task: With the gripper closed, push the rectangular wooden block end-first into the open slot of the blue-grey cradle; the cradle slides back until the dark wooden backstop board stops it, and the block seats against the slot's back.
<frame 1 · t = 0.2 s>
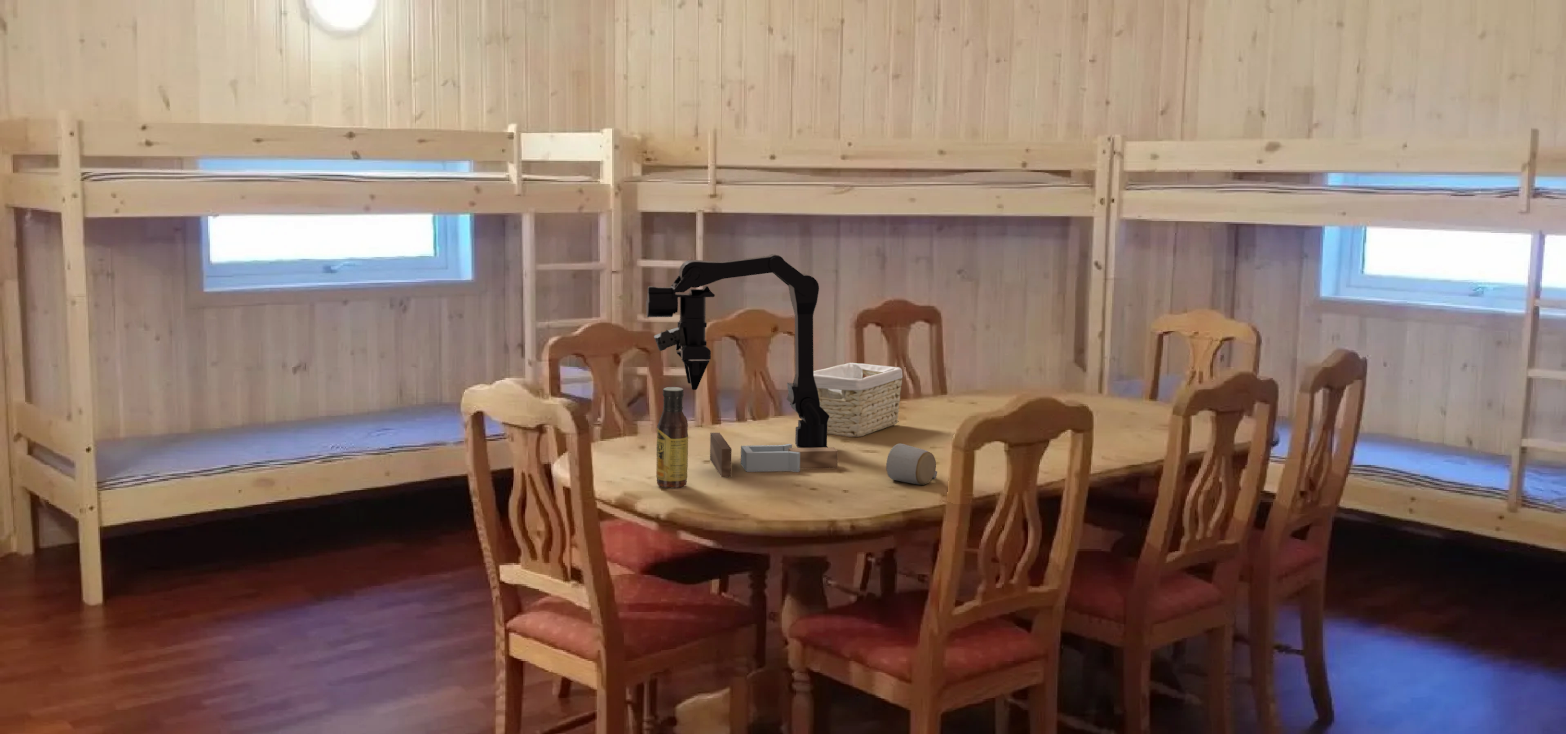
hand: (692, 386, 323), 15 cm above the table, fingers open, 9 cm apart
sauce bottle: (671, 487, 289), on the table
ceramic mug: (913, 482, 298), on the table
rectangular wooden block: (812, 467, 310), on the table
backstop: (720, 468, 307), on the table
cradle: (769, 458, 308), point 2 cm above the table, slide at 0.0 cm
storage basket: (852, 429, 357), on the table
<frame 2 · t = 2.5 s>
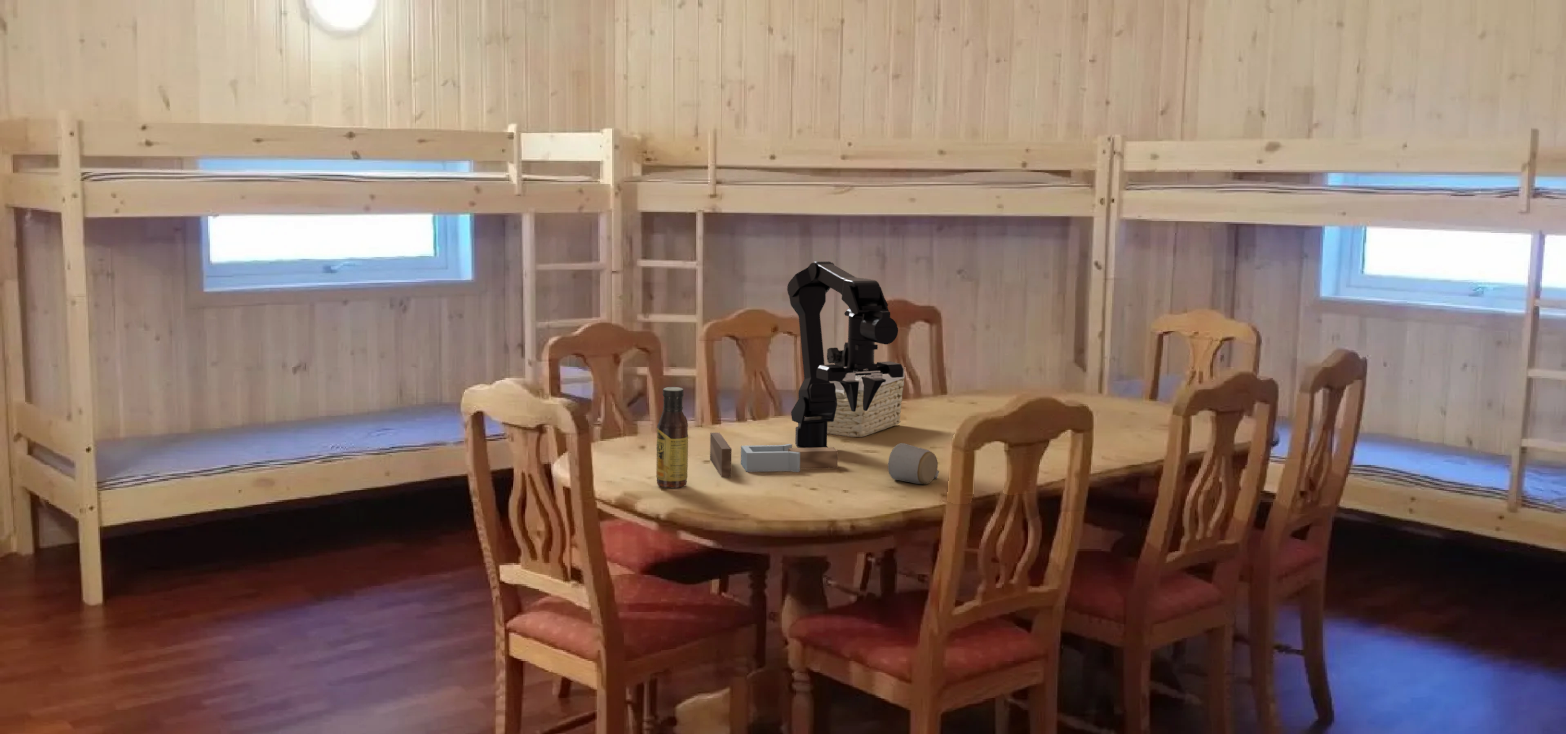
hand: (859, 410, 311), 12 cm above the table, fingers open, 3 cm apart
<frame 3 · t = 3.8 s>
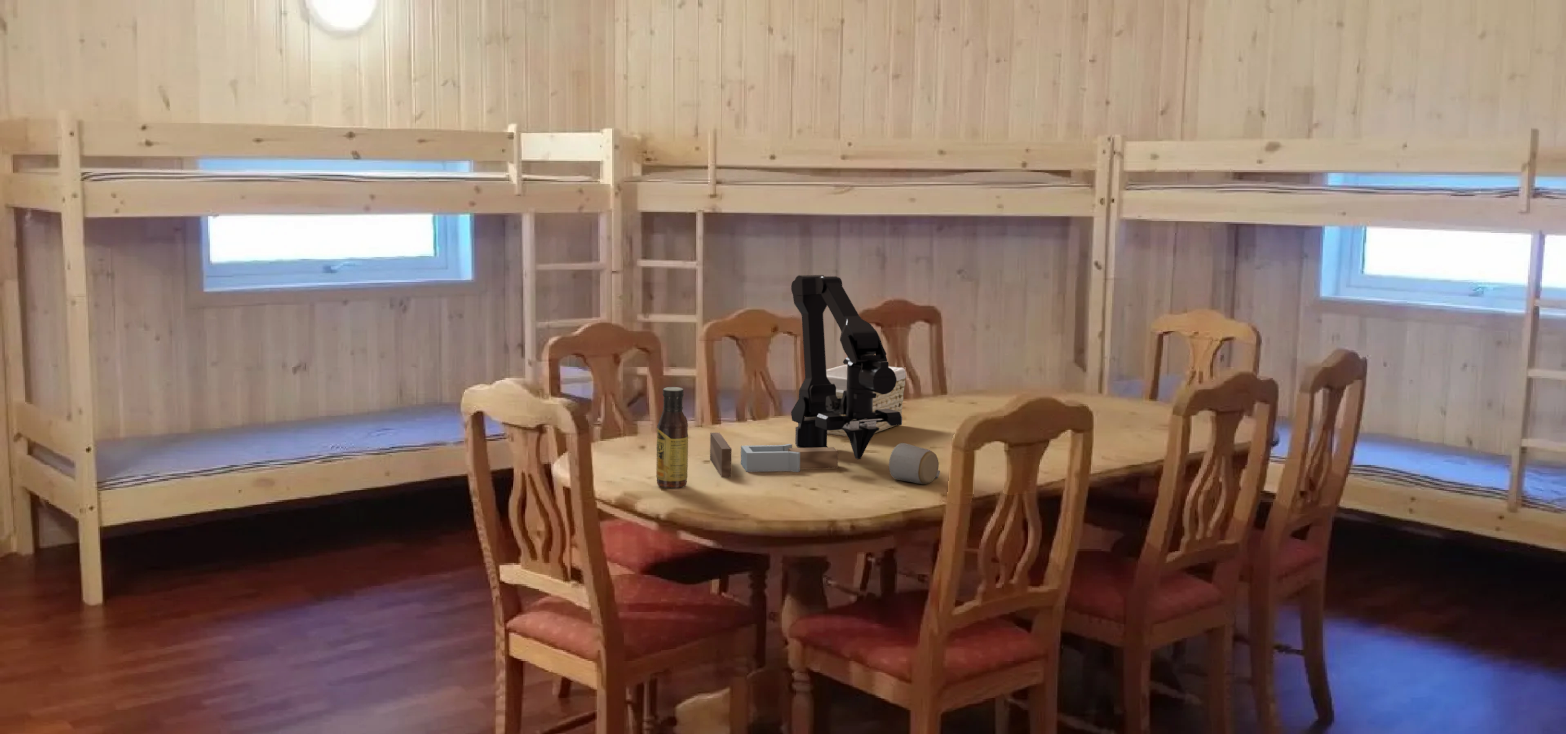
hand: (857, 458, 312), 2 cm above the table, fingers closed
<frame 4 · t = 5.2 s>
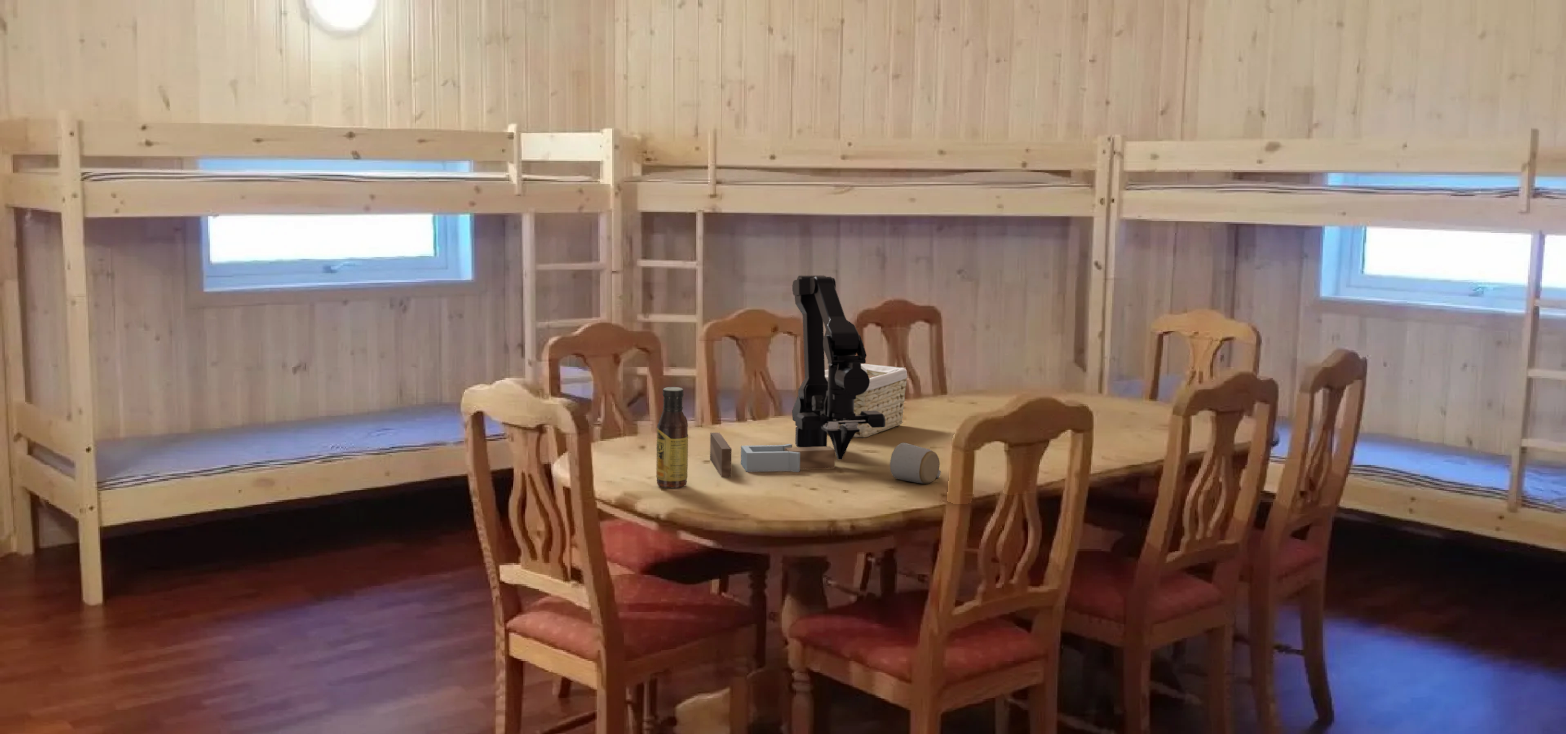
hand: (839, 459, 311), 1 cm above the table, fingers closed
rectangular wooden block: (809, 467, 310), on the table, touching gripper
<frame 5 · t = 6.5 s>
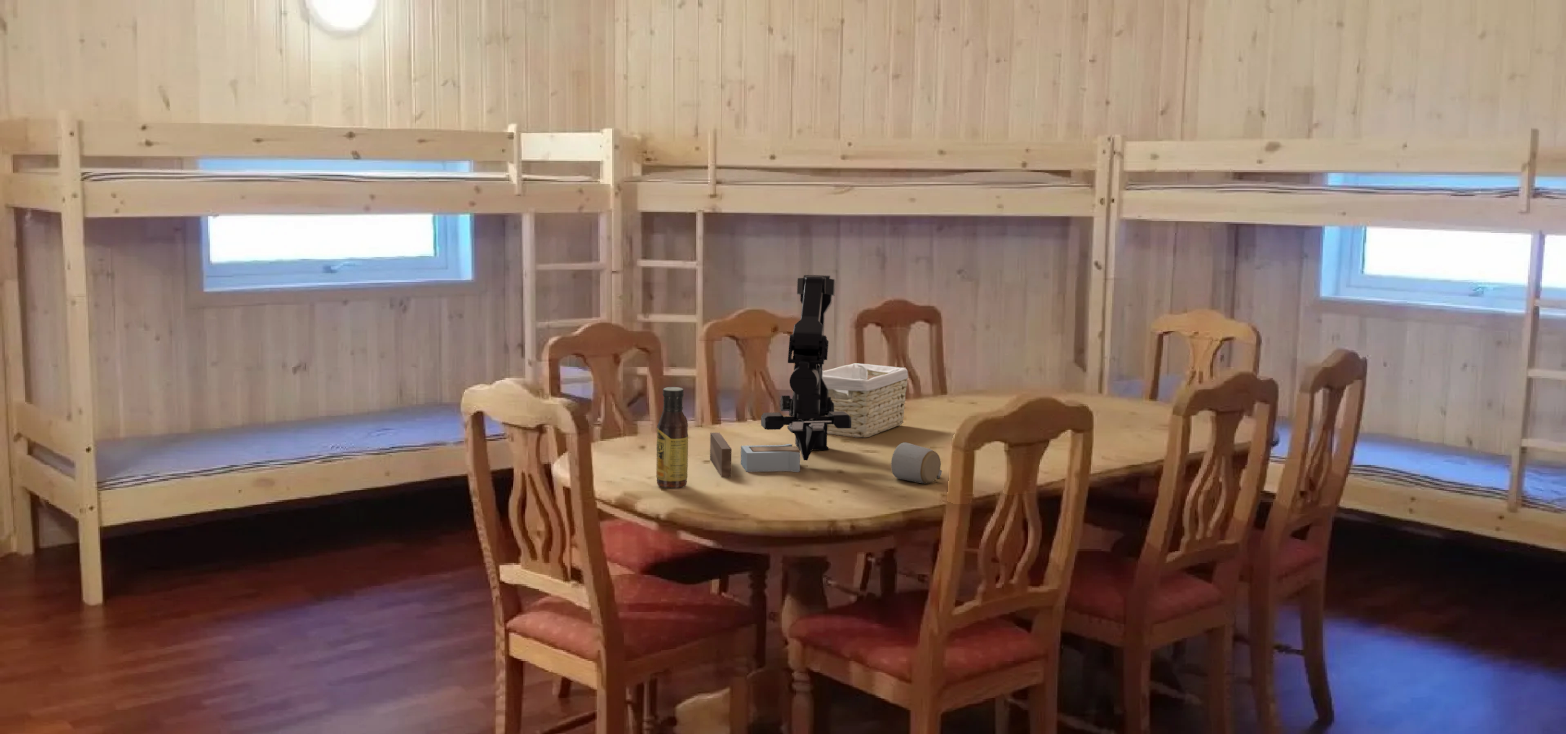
hand: (805, 460, 310), 1 cm above the table, fingers closed
rectangular wooden block: (774, 467, 309), on the table, touching gripper
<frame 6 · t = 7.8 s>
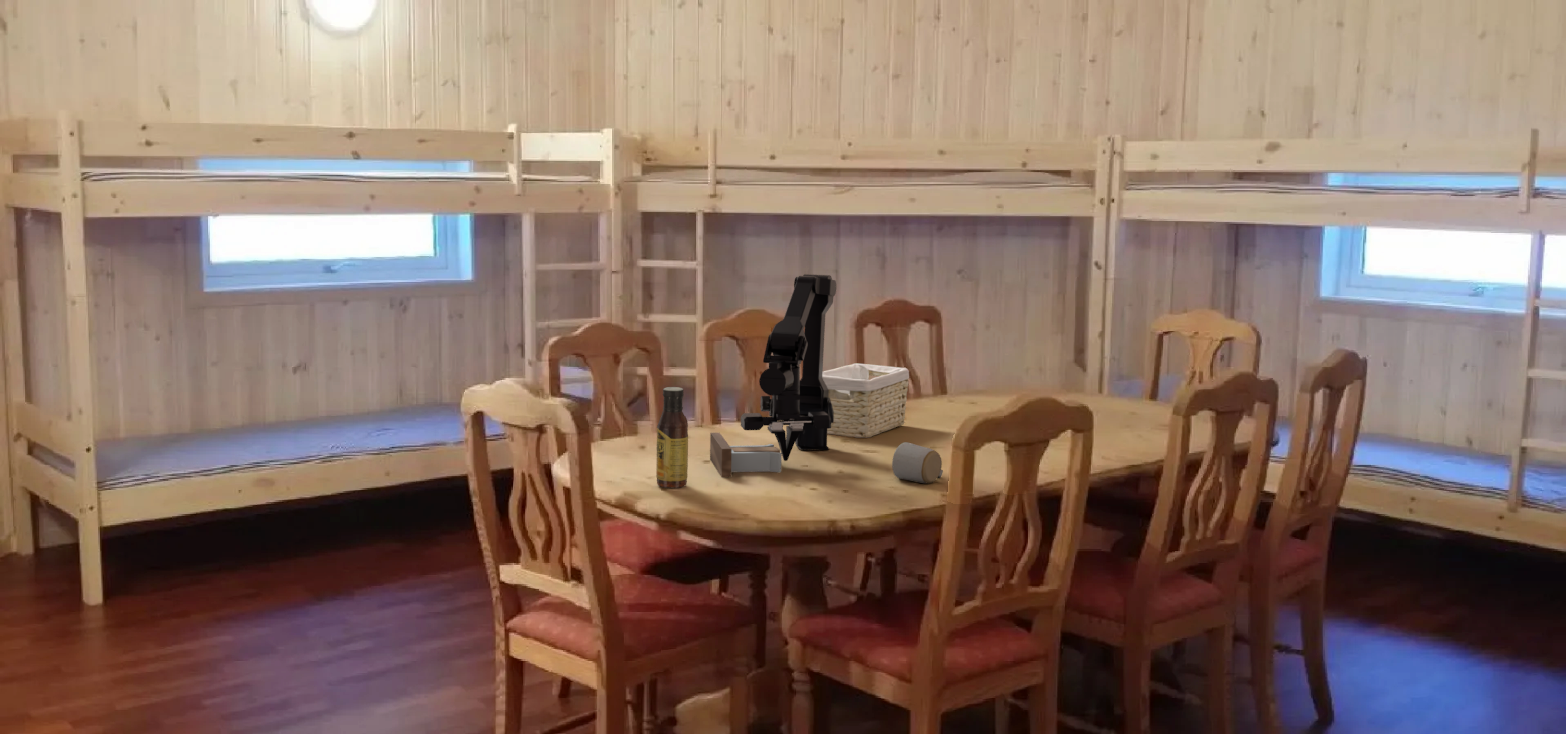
hand: (785, 460, 309), 1 cm above the table, fingers closed
rectangular wooden block: (754, 467, 309), on the table, touching cradle, gripper
cradle: (751, 458, 308), point 2 cm above the table, slide at 4.0 cm, touching backstop, rectangular wooden block
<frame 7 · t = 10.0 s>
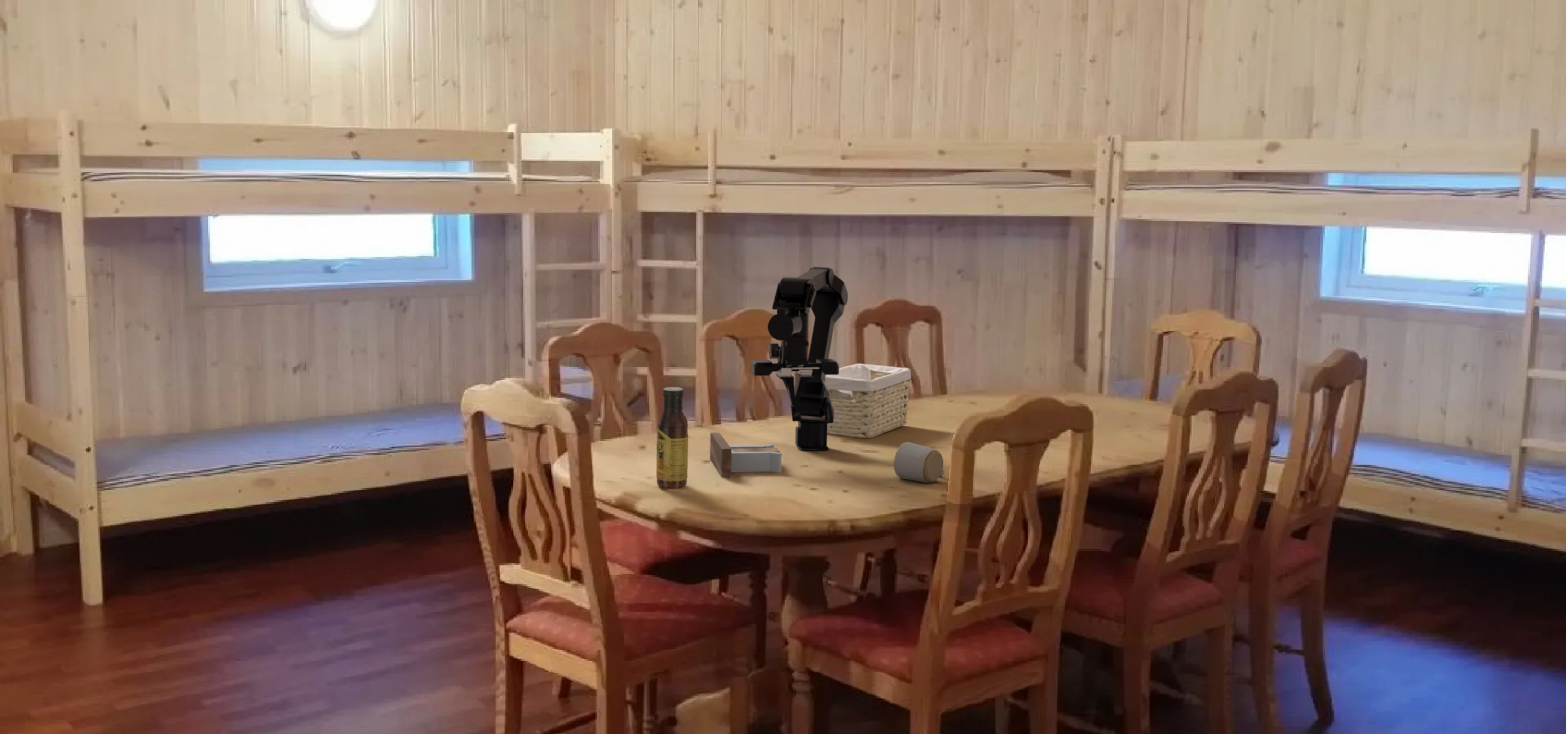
hand: (793, 406, 315), 12 cm above the table, fingers closed
rectangular wooden block: (754, 468, 309), on the table
cradle: (751, 458, 308), point 2 cm above the table, slide at 4.0 cm
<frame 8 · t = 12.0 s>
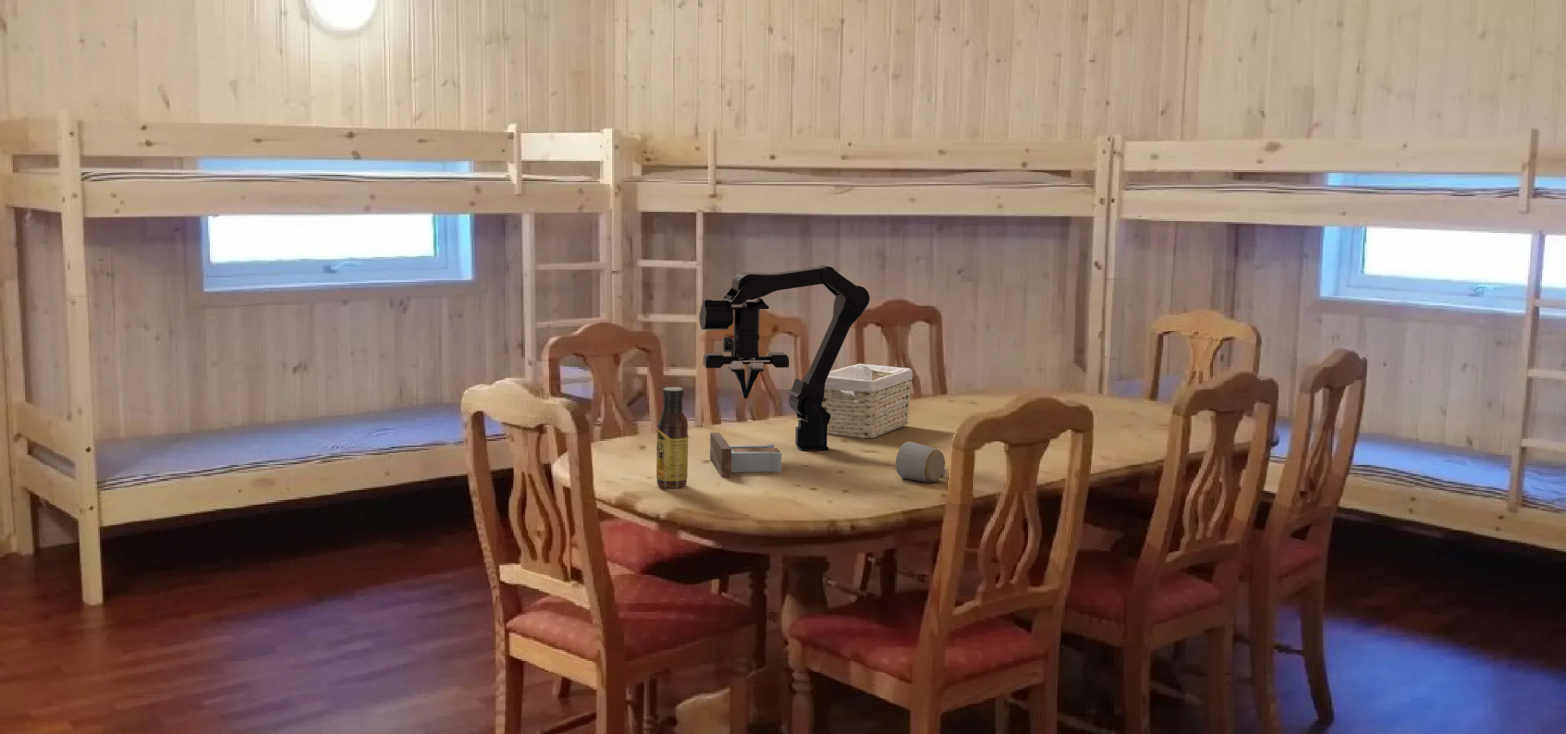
hand: (745, 398, 324), 12 cm above the table, fingers closed
at the end: cradle slide at 4.0 cm; rectangular wooden block 0.6 cm from the target spot on the cradle, point 0.0 cm above the cradle's base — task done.
